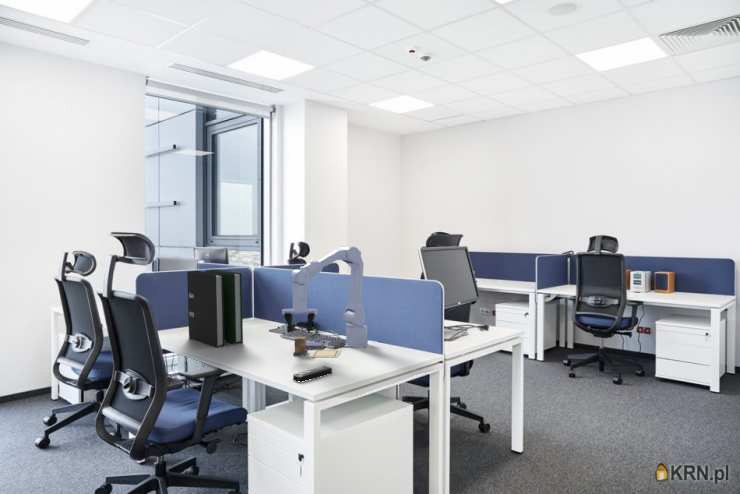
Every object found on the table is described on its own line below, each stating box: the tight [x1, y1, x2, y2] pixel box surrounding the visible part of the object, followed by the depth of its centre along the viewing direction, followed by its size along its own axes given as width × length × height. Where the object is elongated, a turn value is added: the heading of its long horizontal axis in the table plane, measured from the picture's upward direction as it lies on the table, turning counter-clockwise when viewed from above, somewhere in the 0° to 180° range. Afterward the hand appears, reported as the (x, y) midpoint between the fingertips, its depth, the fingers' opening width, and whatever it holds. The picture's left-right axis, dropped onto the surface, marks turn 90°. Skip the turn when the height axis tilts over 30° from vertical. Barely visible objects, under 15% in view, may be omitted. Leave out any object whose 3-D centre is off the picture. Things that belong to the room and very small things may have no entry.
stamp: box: [292, 336, 309, 357], centre depth 207 cm, size 5×5×7 cm
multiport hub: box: [292, 365, 333, 383], centre depth 176 cm, size 4×14×2 cm, turn 136°
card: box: [310, 349, 342, 358], centre depth 207 cm, size 11×11×1 cm
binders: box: [186, 269, 244, 349], centre depth 232 cm, size 27×15×32 cm, turn 44°
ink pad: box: [306, 342, 325, 350], centre depth 218 cm, size 8×6×2 cm
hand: (300, 331), depth 207 cm, fingers open, 7 cm apart
